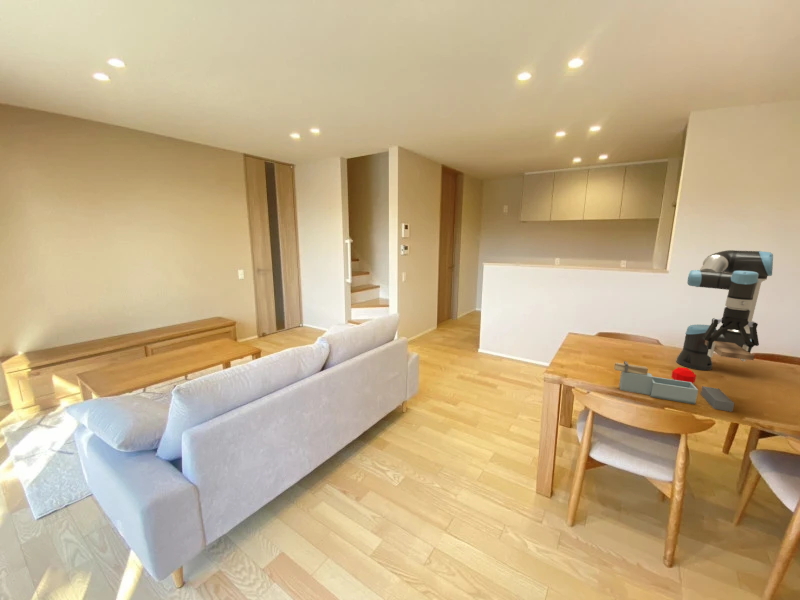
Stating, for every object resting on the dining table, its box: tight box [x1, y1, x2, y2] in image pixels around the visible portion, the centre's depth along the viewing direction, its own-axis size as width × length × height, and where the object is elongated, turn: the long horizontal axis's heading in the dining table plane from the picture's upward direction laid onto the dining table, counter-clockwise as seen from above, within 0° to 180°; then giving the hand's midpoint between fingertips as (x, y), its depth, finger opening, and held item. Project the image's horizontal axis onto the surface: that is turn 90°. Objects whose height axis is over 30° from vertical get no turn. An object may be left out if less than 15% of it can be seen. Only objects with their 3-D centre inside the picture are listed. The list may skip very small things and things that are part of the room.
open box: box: [649, 376, 699, 405], centre depth 150 cm, size 8×16×7 cm, turn 66°
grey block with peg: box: [618, 360, 654, 396], centre depth 155 cm, size 4×12×13 cm, turn 66°
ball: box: [671, 366, 697, 385], centre depth 163 cm, size 8×8×8 cm
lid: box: [705, 340, 755, 361], centre depth 140 cm, size 10×16×2 cm, turn 156°
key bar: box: [614, 362, 649, 375], centre depth 155 cm, size 2×12×3 cm, turn 66°
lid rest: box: [700, 385, 735, 413], centre depth 145 cm, size 14×6×4 cm, turn 156°
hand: (725, 358), depth 141 cm, fingers closed on lid, 10 cm apart
